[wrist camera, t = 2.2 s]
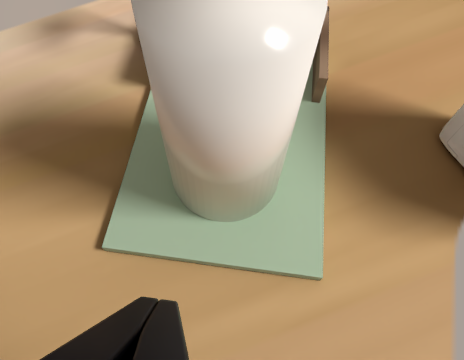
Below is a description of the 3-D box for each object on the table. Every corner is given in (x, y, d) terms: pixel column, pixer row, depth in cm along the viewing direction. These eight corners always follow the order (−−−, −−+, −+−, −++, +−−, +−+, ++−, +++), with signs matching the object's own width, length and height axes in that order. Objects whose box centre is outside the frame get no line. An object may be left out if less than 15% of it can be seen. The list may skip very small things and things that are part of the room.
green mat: (320, 280, 22) (322, 277, 22) (104, 250, 23) (101, 247, 22) (325, 35, 32) (327, 30, 32) (175, 18, 33) (174, 13, 32)
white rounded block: (249, 241, 23) (278, 94, 11) (151, 191, 24) (90, 17, 13) (295, 154, 26) (354, -30, 14) (205, 115, 27) (194, -81, 16)
